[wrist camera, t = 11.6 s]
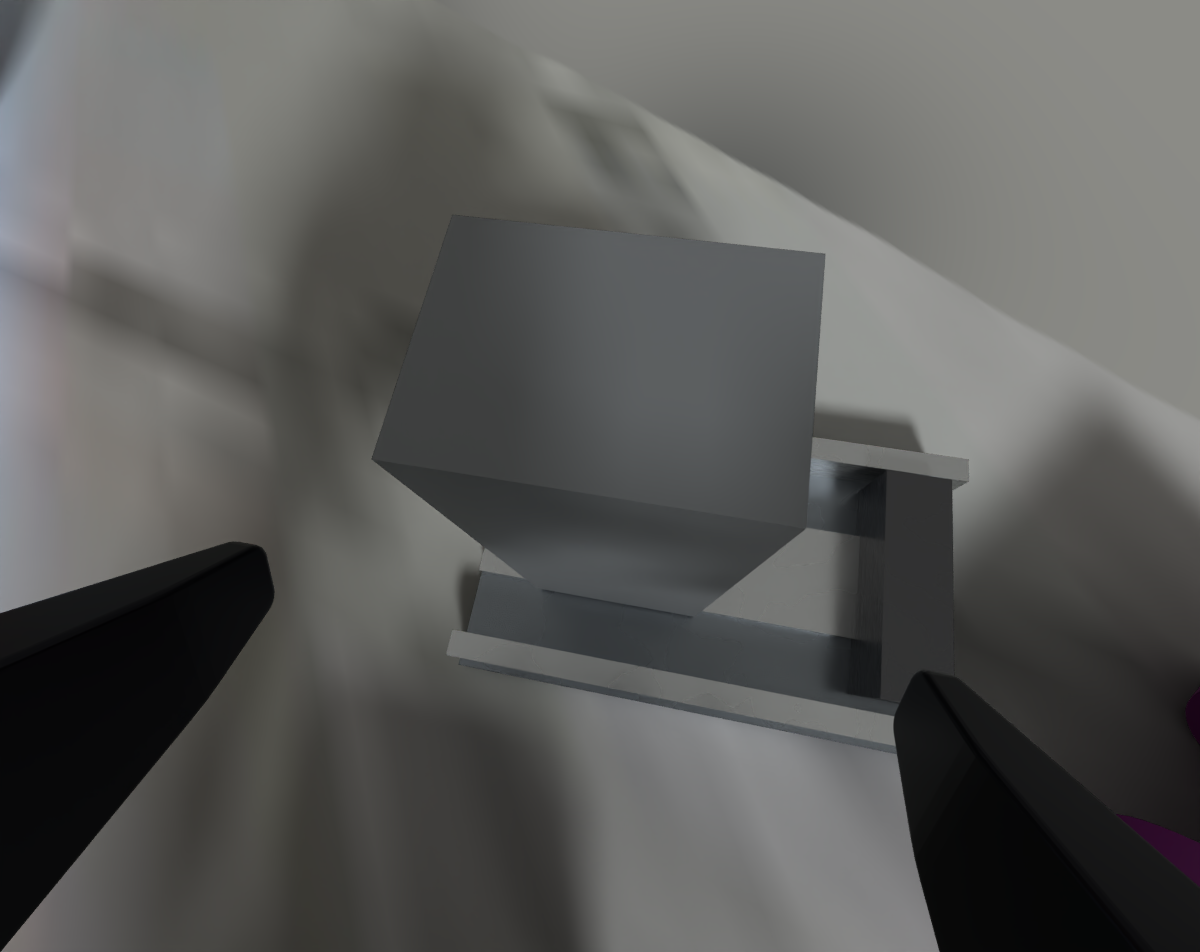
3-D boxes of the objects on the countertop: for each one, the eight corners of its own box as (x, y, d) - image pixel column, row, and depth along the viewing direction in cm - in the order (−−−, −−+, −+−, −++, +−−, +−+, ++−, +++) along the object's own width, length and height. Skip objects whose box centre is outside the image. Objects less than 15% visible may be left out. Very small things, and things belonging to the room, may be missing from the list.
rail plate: (935, 472, 21) (984, 441, 18) (935, 760, 18) (993, 779, 15) (526, 412, 23) (510, 374, 20) (463, 664, 20) (433, 664, 17)
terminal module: (694, 616, 19) (806, 528, 7) (537, 588, 19) (371, 459, 7) (711, 478, 20) (829, 197, 8) (565, 456, 21) (468, 163, 9)
